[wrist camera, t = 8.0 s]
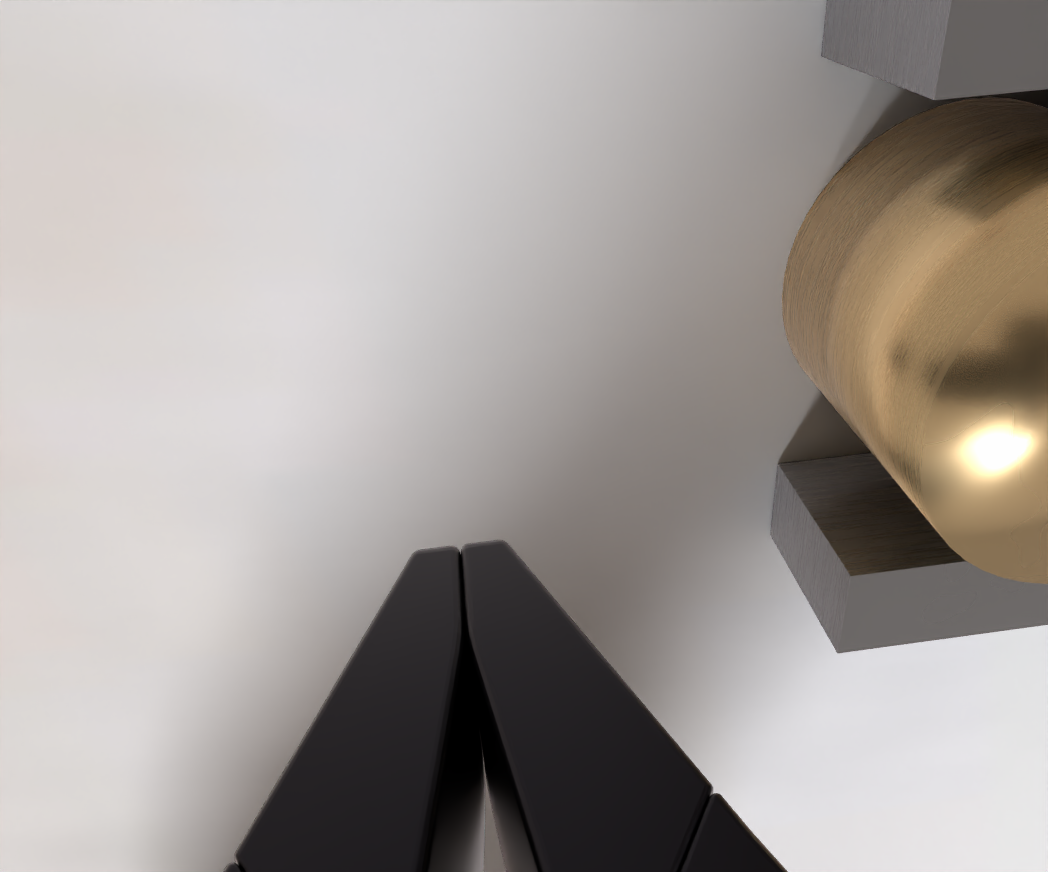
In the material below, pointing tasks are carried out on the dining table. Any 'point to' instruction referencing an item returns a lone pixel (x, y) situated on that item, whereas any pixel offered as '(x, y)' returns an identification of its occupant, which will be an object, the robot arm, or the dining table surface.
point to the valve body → (860, 480)
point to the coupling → (940, 320)
